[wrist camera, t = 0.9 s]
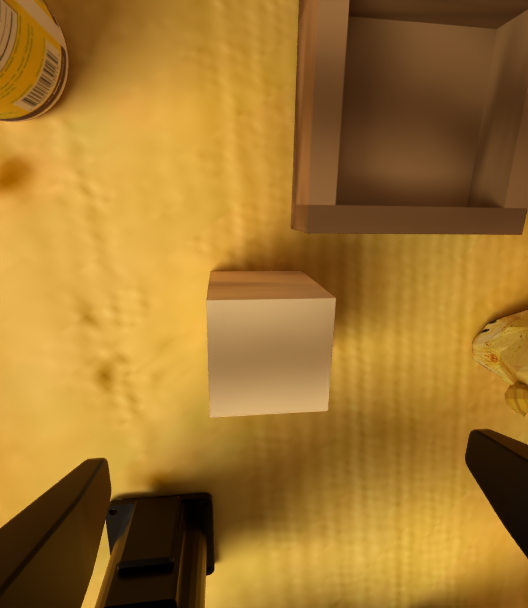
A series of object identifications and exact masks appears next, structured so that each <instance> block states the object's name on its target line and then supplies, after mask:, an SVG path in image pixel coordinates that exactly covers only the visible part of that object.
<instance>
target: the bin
mask: <svg viewBox="0 0 528 608" xmlns="http://www.w3.org/2000/svg"><path fill="white" fill-rule="evenodd" d="M527 209H528V0H299V17H298V45H297V73H296V101H295V129H294V158H293V186H292V214H291V228H292V229H295V230H298V231H301V232H304V233H338V234H492V235H522V232H523V227H524V223H525V218H526V213H527Z"/></svg>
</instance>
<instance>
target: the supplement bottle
mask: <svg viewBox="0 0 528 608" xmlns="http://www.w3.org/2000/svg"><path fill="white" fill-rule="evenodd" d="M67 75H68V53H67V47H66V43H65V39H64V36H63V33H62V31H61V28H60V26H59V24H58V22H57V20H56V18H55V17H54V15H53V13H52V12H51V10H50V9H49V7H48V6H47V5H46V3H45V2H44V1H43V0H0V121H7V122H19V121H26V120H30V119H33V118H36V117H38V116H40V115H42V114H44V113H45V112H46V111H48V110H49V109H50V108H51V107H52V106H53V105H54V104H55V103H56V102H57V101H58V99H59V98H60V96H61V94H62V92H63V90H64V87H65V84H66V81H67Z"/></svg>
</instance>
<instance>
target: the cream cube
mask: <svg viewBox="0 0 528 608" xmlns="http://www.w3.org/2000/svg"><path fill="white" fill-rule="evenodd" d="M335 306H336V298H335V297H334V296H333V295H331V294H330V293H329V292H328V291H326V290H325V289H324V288H323V287H321V286H320V285H319V284H318V283H316V282H315V281H314V280H313V279H311V278H310V277H309V276H308V275H306V274H305V273H304V272H303V271H210V278H209V285H208V292H207V299H206V307H207V339H208V371H209V403H210V418H212V417H229V416H247V415H264V414H281V413H299V412H316V411H328V401H329V387H330V374H331V360H332V347H333V333H334V320H335Z"/></svg>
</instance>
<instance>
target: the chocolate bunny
mask: <svg viewBox="0 0 528 608" xmlns="http://www.w3.org/2000/svg"><path fill="white" fill-rule="evenodd" d="M473 359H474V360H476V361H477V362H479V363H480V364H481V365H483V366H484V367H486V368H487V369H489V370H490V371H492V372H494V373H496V374H497V375H498V376H500V377H501V378H502V379H503V380H504V381H505V382H507V383H510V384H512V385H510V387H509V388H508V390H507V391H506V393H505V400H506V402H507V405H509V406H510V407H511V408H512V409H513V410H514V411H516V412H518V413H521V414H522V415H523V416H525V415H526V413H528V310H526V311H522V312H519V313H516V314H513V315H510V316H506V317H504V318H501V319H499V320H496V321H493V322H491V323H488V324H487V325H486V326H485V327H484V328H483V330H482V331H481V332H480V333H479V334H478V335H477V336H476V337H475V338H474V339H473Z"/></svg>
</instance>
